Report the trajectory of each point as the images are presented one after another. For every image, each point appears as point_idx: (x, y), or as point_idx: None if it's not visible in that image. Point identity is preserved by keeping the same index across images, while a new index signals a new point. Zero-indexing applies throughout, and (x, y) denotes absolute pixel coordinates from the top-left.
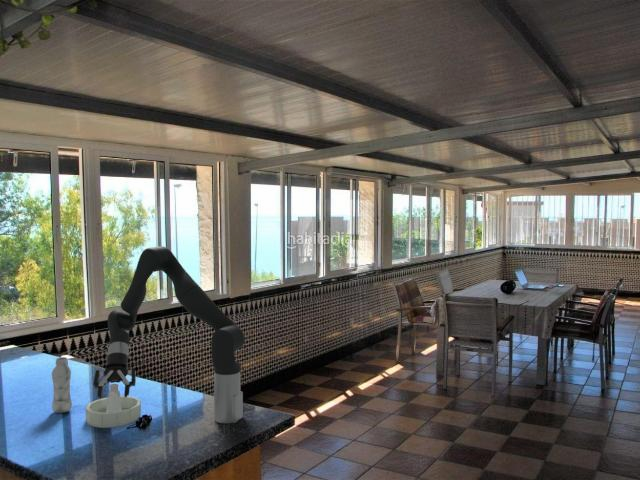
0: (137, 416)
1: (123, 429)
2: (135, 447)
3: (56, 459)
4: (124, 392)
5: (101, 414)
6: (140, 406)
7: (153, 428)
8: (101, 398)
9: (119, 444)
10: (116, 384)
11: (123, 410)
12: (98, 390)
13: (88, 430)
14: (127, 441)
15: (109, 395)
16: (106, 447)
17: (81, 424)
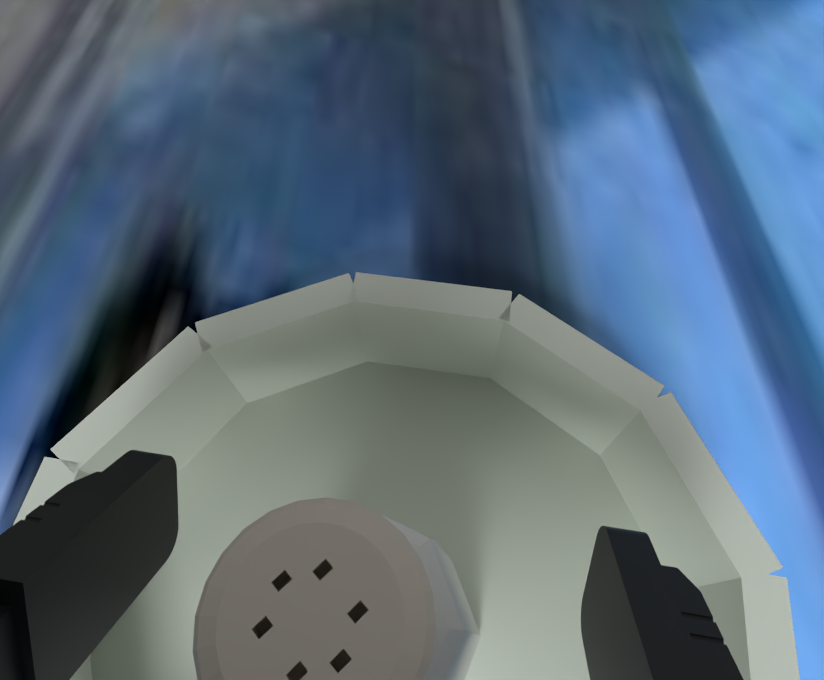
0: None
1: None
2: (287, 24)
3: (709, 9)
4: (147, 473)
5: (522, 300)
6: None
7: (101, 234)
8: (587, 597)
9: (371, 75)
10: (238, 620)
11: (276, 316)
12: (722, 659)
13: None
14: (320, 97)
15: (441, 562)
16: (448, 61)
17: None
